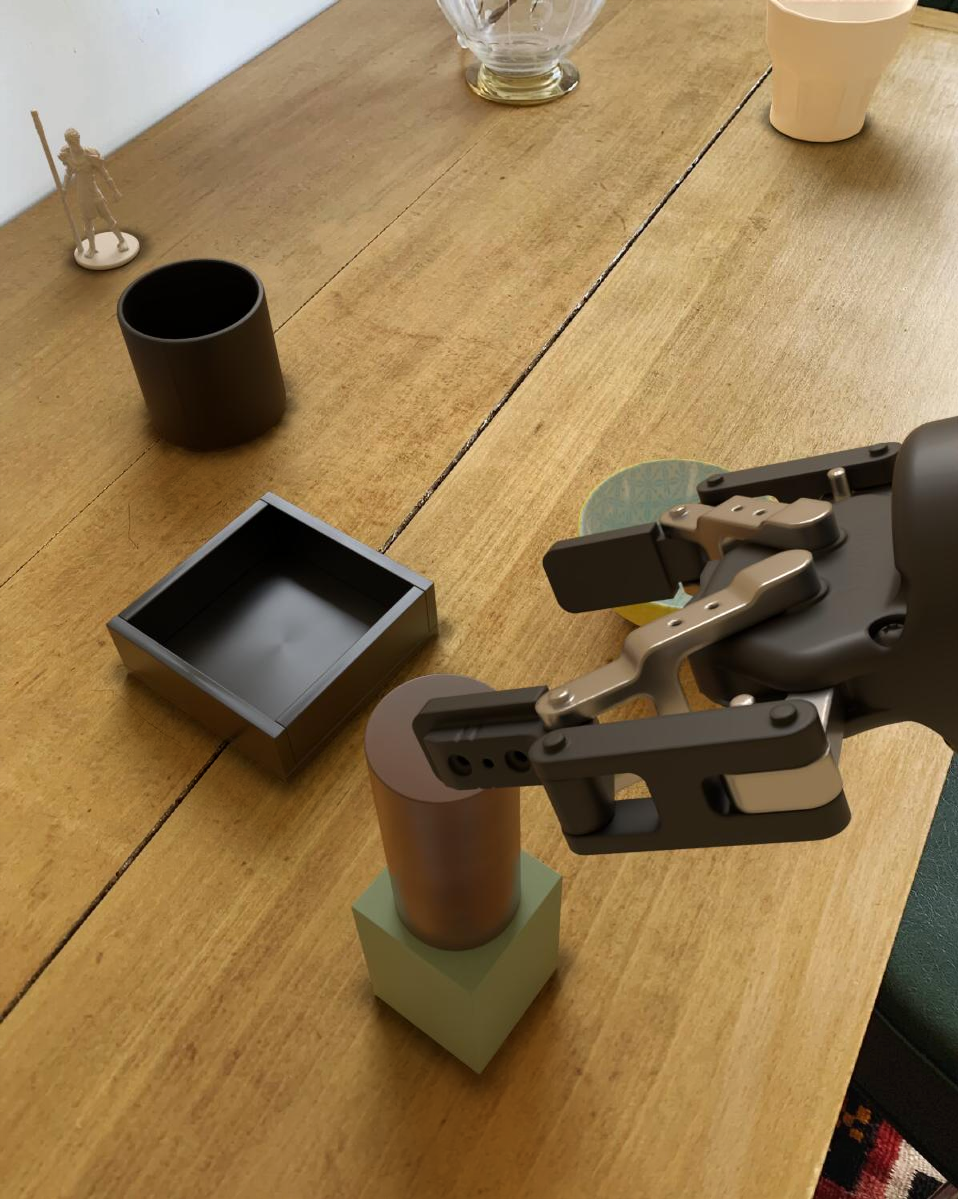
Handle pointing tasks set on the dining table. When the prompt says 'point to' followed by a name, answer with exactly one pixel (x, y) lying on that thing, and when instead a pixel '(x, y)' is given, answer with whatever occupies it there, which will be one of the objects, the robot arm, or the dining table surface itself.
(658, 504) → the bowl
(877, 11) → the cup
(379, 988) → the pale green block
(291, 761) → the open box
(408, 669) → the dining table surface
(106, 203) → the figurine
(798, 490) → the robot arm
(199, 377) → the mug
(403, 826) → the tall brown cylinder
